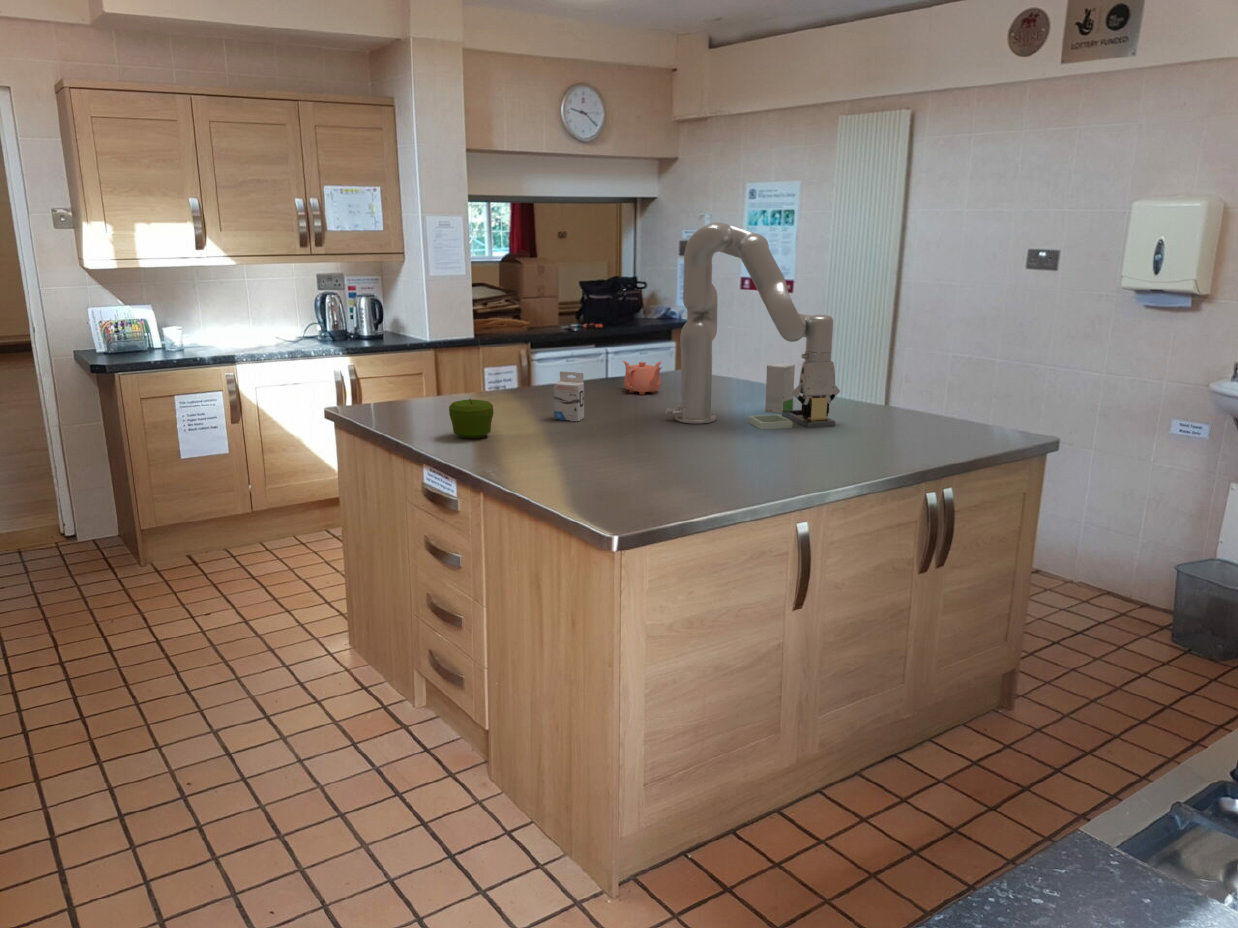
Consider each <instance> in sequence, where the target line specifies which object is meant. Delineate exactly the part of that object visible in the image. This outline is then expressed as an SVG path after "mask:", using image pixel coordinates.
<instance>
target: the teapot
mask: <svg viewBox="0 0 1238 928" xmlns="http://www.w3.org/2000/svg"><path fill="white" fill-rule="evenodd" d="M622 362H623V363H624V365H625V374H624V379H623V380H624V381H623V386H624V388H625V389H626V390H629V391H628V393H631V394H633V393H636V392H639V394H638V395H640V396H642V395H643V396H645V395H646V393H647V392H649V393H651V394H655V393H656V391H658V390H659V389H660V388H661V384H662V383H661V376H660V371H661V369H663V367H660V365H661V364H662V361H658V362H656V364H655V365H651V364H647V362H646V361H639V362H638V364H633V365H630V364H629V362H628V361H625V360H622Z"/></svg>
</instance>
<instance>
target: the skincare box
mask: <svg viewBox="0 0 1238 928" xmlns="http://www.w3.org/2000/svg"><path fill="white" fill-rule="evenodd" d="M795 365H796V364H795V363H783V362H781V363H780V362H777V363H771V364H766V382H765V383H766V385H765V407H764V408H765V409H764V410H765V411H764V413H774V414H779V415H782V411H786V410H794V397H795V396H794V395H793V394H792V392H793V391H794V390H795V368H796V366H795Z"/></svg>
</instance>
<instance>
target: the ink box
mask: <svg viewBox="0 0 1238 928" xmlns="http://www.w3.org/2000/svg"><path fill="white" fill-rule="evenodd" d="M570 376H572V377H570ZM553 411H554V412H553V420H554V419H561V420H560V421H563V420H571V421H570V422H573V421H579V422H580V420H581V421H582V419H583V418H584V419H585V382H584V372H577V371H559V381H556V382H553ZM584 419H583V420H584Z"/></svg>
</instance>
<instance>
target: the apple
mask: <svg viewBox="0 0 1238 928" xmlns="http://www.w3.org/2000/svg"><path fill="white" fill-rule="evenodd" d="M448 413H449V417H450V420H451V424H452V431H453V434H454V435H456V436H458V437H460V438H461V439H480V437H481V438H484V437H485V436H486V435H488V434H489V433H491V429H492V421H493V417H494V405H493V404H492V403H491V402H490V401H488V400H480V399H471V398H469V399H462V400H461V399H460V400H456V401H453V402H452V403H451V404H450V405H449V406H448ZM483 436H484V437H483Z"/></svg>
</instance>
